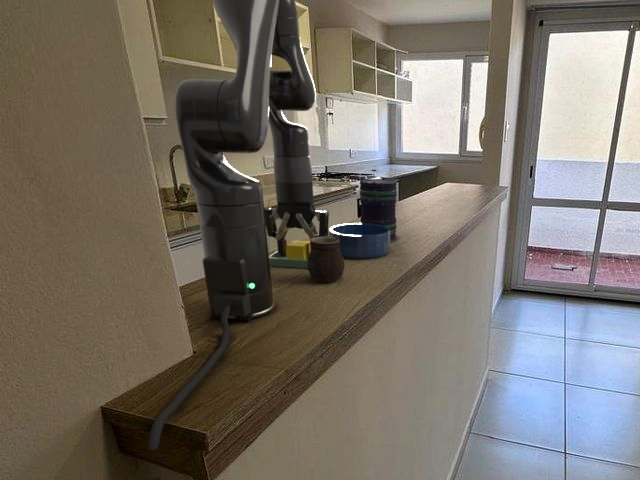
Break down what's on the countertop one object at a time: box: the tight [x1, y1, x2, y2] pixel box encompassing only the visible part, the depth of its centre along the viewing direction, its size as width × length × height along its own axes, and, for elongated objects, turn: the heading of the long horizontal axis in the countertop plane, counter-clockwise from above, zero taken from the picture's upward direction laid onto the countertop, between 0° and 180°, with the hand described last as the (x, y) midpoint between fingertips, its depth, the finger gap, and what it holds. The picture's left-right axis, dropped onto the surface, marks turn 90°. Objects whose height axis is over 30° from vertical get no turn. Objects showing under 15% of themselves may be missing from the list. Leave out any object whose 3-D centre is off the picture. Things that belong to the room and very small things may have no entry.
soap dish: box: [269, 250, 308, 269], centre depth 99 cm, size 10×11×2 cm
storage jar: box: [359, 169, 398, 242], centre depth 119 cm, size 10×10×18 cm
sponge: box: [286, 239, 311, 260], centre depth 99 cm, size 5×4×4 cm
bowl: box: [329, 222, 391, 260], centre depth 107 cm, size 14×14×6 cm
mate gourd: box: [307, 229, 346, 283], centre depth 86 cm, size 7×8×10 cm
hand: (299, 256), depth 99 cm, fingers open, 6 cm apart
